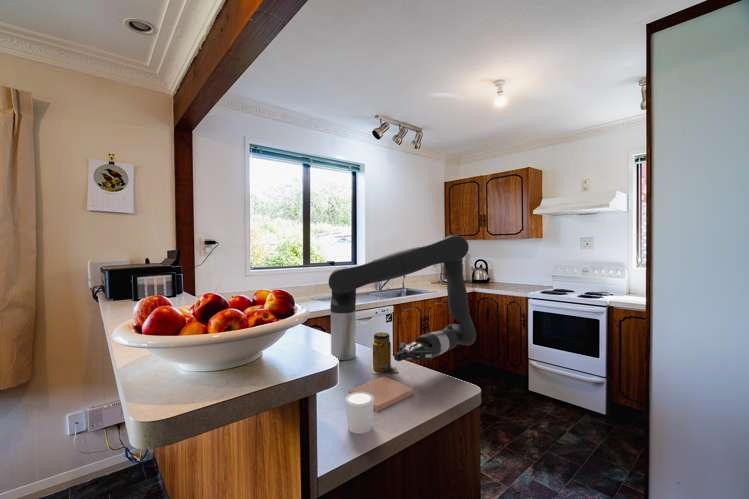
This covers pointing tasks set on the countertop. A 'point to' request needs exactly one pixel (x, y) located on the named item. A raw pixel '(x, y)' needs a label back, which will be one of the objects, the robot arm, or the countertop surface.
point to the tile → (384, 391)
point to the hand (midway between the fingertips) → (396, 357)
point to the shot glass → (359, 412)
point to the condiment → (382, 354)
